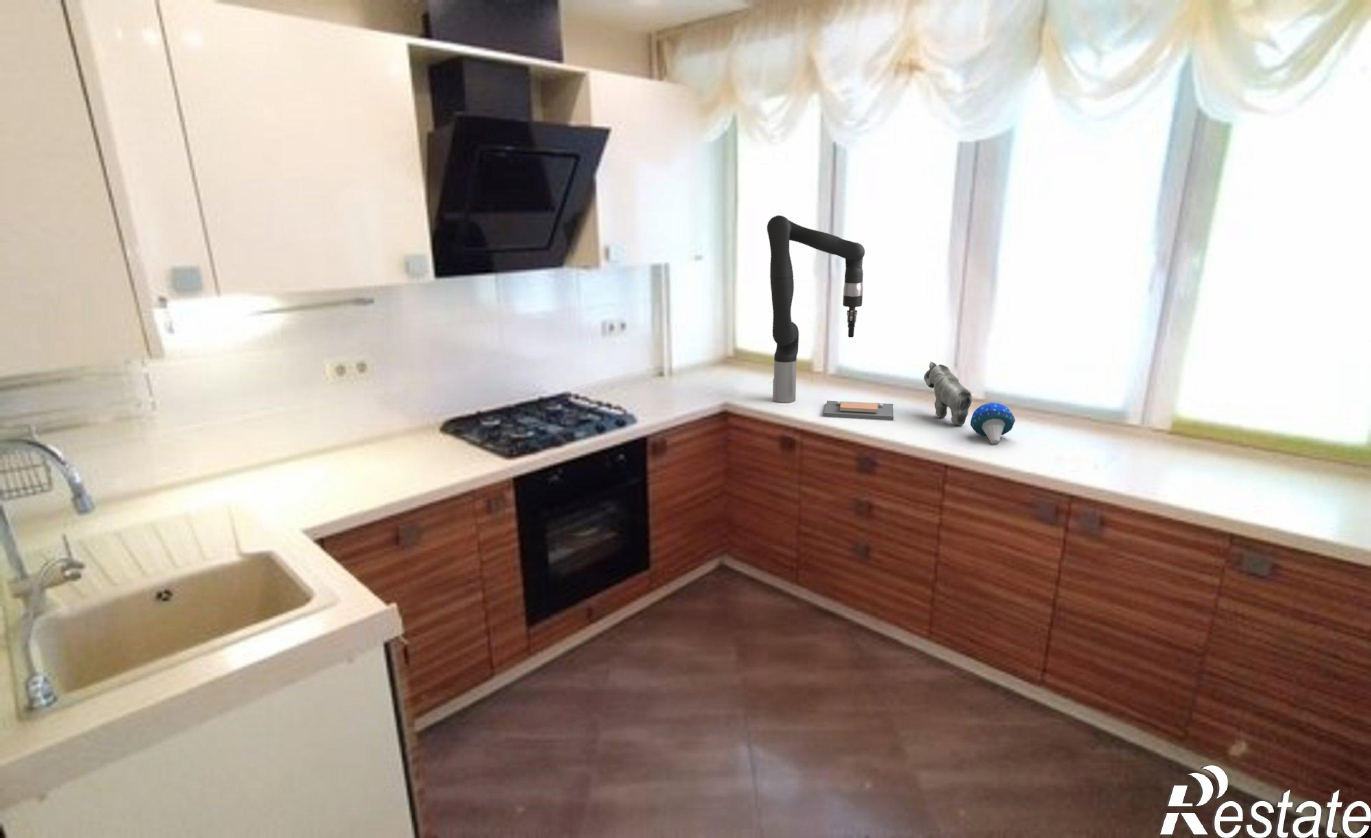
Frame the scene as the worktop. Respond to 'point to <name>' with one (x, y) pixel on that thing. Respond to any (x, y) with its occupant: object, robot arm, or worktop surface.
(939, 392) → the grey animal figure
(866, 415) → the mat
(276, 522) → the worktop surface
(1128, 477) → the worktop surface
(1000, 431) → the mushroom
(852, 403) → the tile
